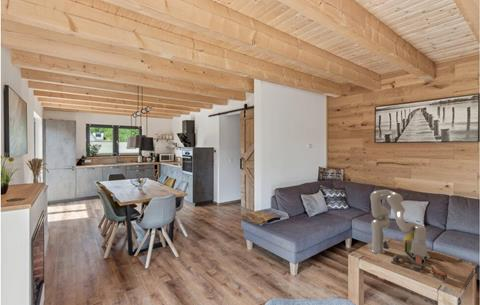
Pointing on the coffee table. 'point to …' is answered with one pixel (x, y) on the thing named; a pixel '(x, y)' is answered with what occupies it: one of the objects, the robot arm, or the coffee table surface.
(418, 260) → the salmon pink rectangular box
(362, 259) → the coffee table surface
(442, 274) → the bull figurine
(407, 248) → the tea box
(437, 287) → the coffee table surface
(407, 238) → the pitcher
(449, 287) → the coffee table surface
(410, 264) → the press base
